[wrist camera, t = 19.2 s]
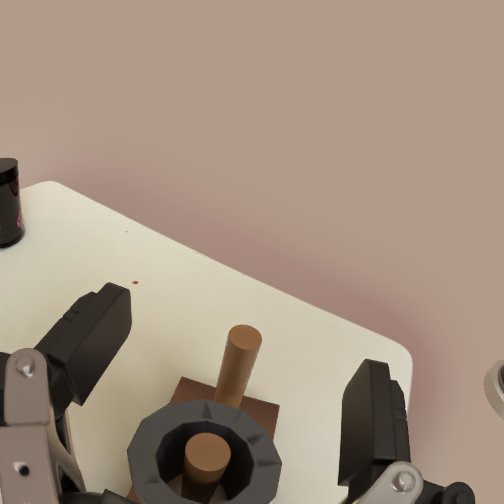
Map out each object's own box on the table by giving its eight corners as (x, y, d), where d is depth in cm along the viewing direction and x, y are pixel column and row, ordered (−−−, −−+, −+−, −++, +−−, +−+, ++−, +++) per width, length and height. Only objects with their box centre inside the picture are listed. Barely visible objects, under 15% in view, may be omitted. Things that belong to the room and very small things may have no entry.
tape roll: (254, 472, 18) (289, 421, 14) (233, 554, 12) (265, 544, 8) (162, 445, 18) (160, 382, 14) (129, 521, 13) (105, 493, 9)
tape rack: (181, 386, 25) (190, 288, 19) (275, 413, 24) (319, 325, 19) (124, 511, 14) (89, 463, 9) (244, 548, 14) (297, 527, 8)
